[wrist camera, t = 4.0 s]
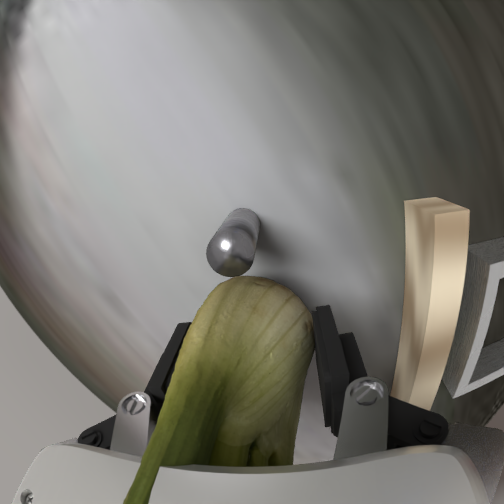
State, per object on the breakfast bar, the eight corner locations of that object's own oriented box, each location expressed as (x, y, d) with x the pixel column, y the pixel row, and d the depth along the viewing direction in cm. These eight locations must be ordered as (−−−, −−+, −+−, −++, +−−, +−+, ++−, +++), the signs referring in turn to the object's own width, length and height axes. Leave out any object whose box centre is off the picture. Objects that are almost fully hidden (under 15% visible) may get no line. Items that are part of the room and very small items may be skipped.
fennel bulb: (204, 260, 13) (69, 527, 2) (311, 254, 13) (377, 567, 1) (221, 354, 15) (171, 563, 4) (309, 352, 15) (326, 572, 3)
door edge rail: (404, 200, 12) (434, 214, 9) (435, 196, 12) (469, 209, 9) (390, 396, 16) (400, 426, 14) (413, 389, 16) (426, 418, 13)
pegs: (222, 211, 13) (201, 236, 9) (256, 205, 13) (248, 227, 9) (264, 389, 17) (261, 438, 13) (289, 386, 16) (290, 436, 13)
